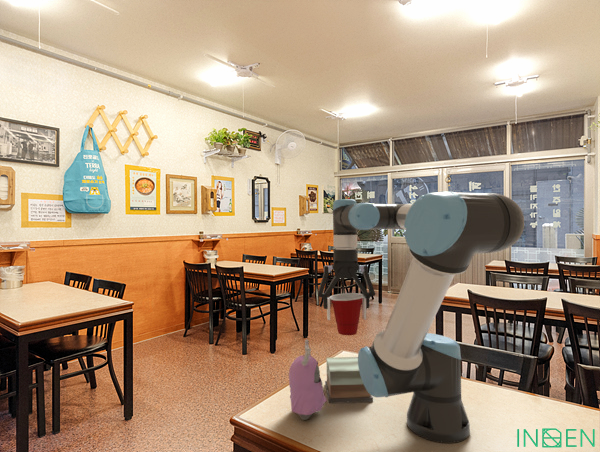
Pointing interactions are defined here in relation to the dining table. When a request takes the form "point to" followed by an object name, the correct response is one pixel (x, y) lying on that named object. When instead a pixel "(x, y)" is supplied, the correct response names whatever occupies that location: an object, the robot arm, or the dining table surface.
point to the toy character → (305, 385)
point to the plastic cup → (347, 312)
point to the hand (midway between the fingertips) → (346, 318)
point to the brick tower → (345, 381)
